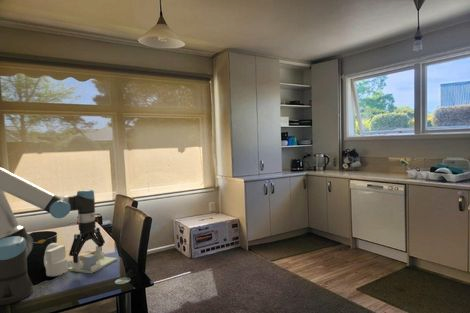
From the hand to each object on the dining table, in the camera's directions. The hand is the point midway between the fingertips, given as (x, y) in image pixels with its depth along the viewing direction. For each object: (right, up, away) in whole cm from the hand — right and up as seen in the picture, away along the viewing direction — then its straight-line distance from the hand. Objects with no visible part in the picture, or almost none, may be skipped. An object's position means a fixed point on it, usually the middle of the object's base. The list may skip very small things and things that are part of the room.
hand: (88, 263), depth 148 cm
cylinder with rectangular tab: (-15, -4, -1) cm, 16 cm away
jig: (-1, -3, +7) cm, 8 cm away
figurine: (-23, -4, +8) cm, 24 cm away
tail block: (+1, -2, 0) cm, 2 cm away
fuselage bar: (-4, -2, +9) cm, 10 cm away
